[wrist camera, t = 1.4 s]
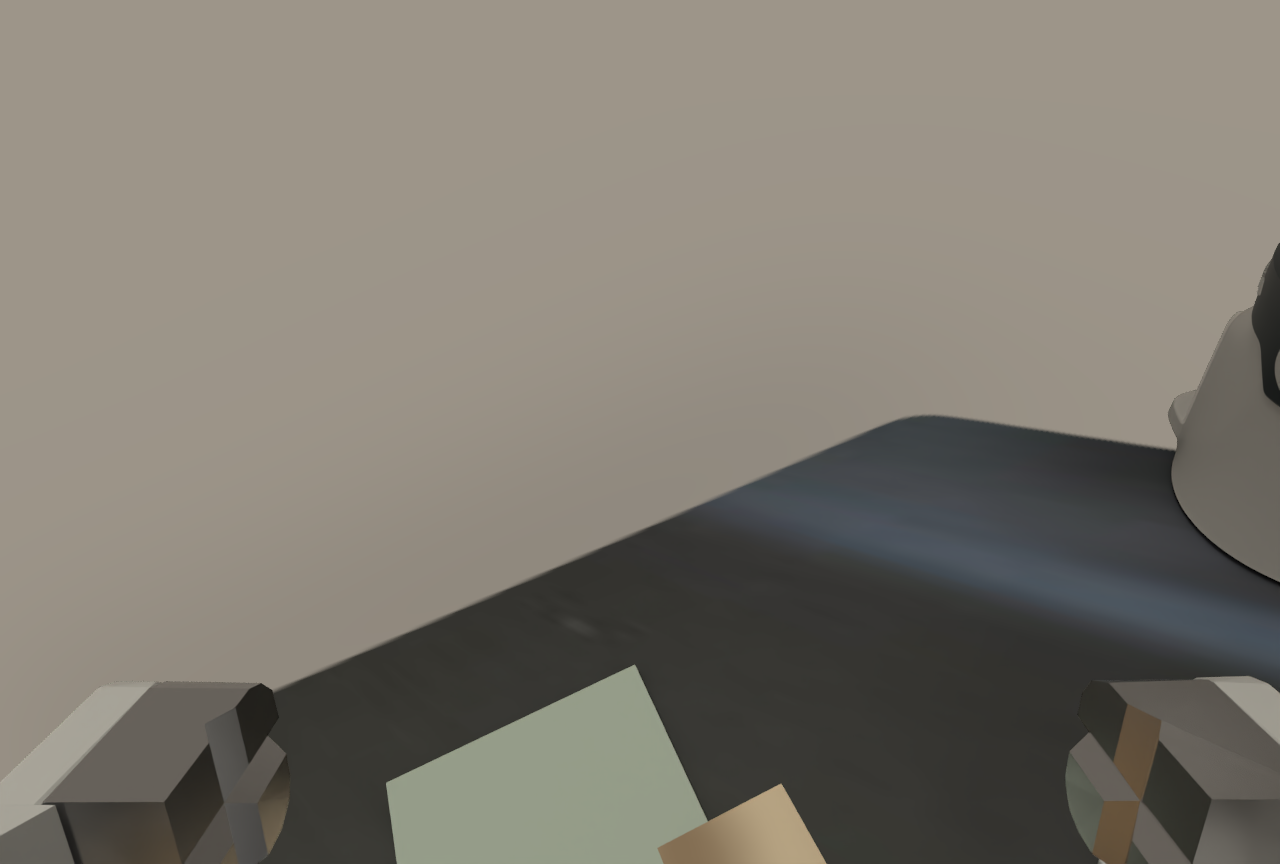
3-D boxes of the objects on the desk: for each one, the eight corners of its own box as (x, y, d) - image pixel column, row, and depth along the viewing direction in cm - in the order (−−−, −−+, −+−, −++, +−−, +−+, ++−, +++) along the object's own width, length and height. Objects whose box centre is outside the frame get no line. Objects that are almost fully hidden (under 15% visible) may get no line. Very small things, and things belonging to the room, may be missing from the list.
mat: (637, 670, 43) (635, 664, 42) (717, 843, 35) (715, 838, 35) (390, 788, 41) (386, 782, 40) (420, 999, 33) (414, 995, 33)
